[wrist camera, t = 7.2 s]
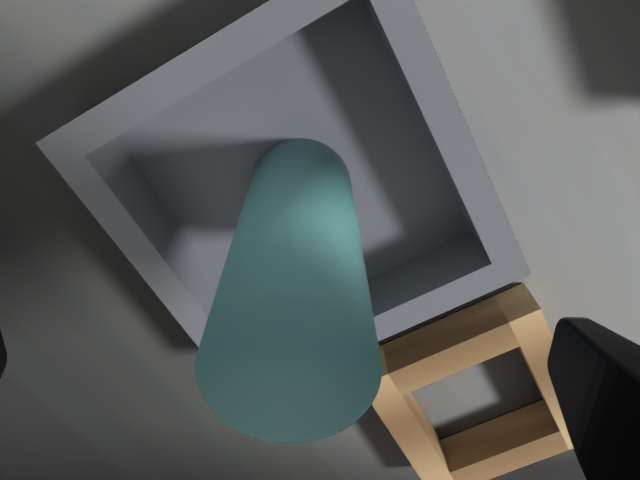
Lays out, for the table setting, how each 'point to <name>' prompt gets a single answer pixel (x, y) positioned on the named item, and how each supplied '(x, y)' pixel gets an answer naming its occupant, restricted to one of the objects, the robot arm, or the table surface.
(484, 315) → the collar
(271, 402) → the dowel
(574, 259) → the table surface
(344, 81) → the tray
